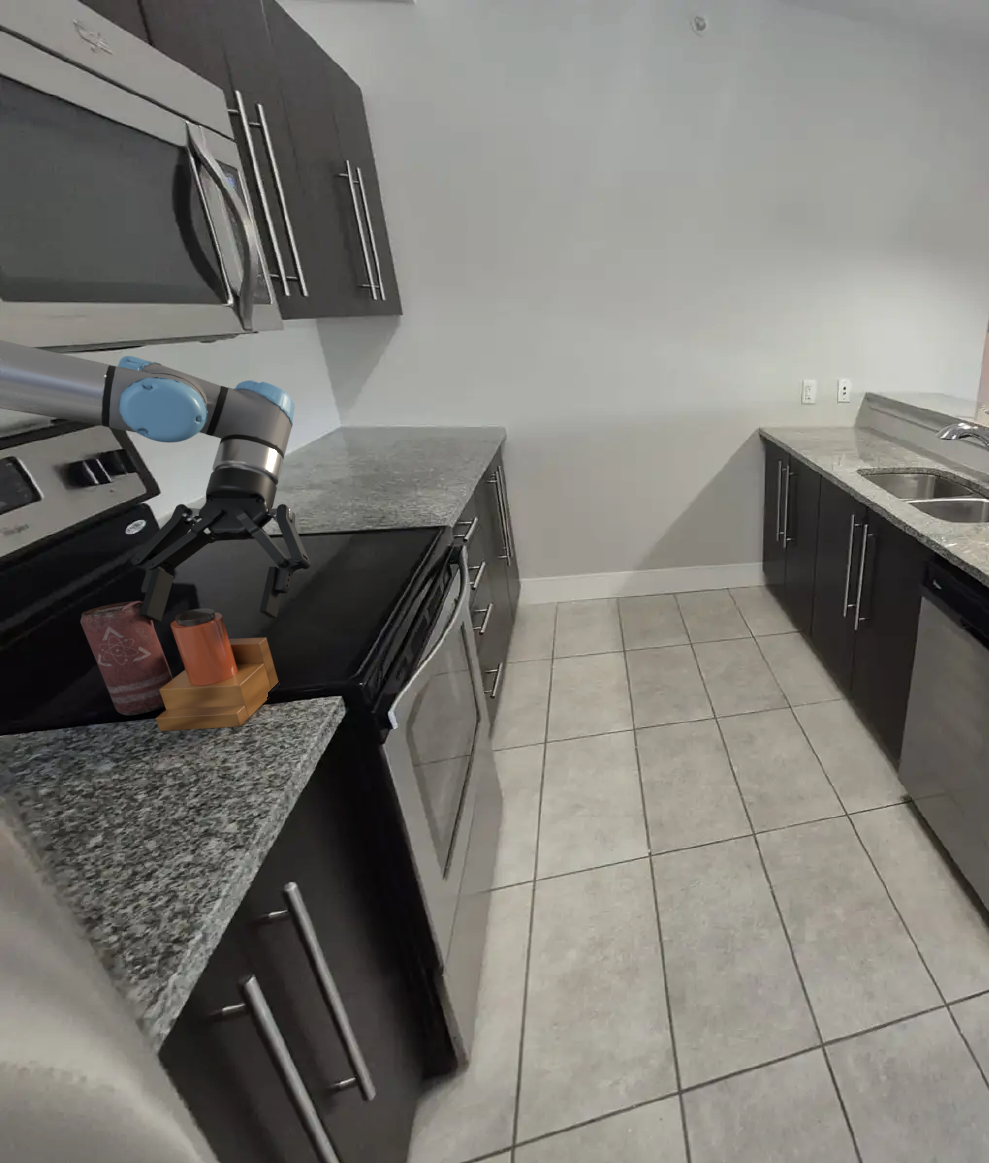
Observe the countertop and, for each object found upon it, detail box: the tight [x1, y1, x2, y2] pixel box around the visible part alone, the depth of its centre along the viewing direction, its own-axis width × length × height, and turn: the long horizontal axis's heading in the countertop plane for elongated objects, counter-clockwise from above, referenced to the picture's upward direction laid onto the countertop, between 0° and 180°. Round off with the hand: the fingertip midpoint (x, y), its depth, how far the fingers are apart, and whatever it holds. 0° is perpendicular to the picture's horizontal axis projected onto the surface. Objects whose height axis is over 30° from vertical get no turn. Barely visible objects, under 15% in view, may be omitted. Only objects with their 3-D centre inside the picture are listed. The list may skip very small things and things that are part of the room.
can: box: [80, 600, 174, 716], centre depth 84 cm, size 6×6×14 cm
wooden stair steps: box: [155, 637, 279, 732], centre depth 85 cm, size 9×10×8 cm
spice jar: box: [170, 607, 238, 685], centre depth 83 cm, size 5×5×9 cm
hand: (210, 616), depth 85 cm, fingers open, 13 cm apart
